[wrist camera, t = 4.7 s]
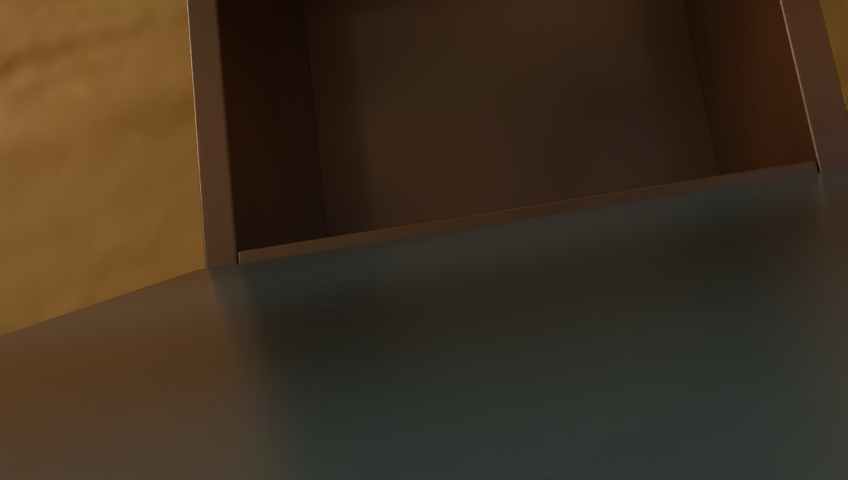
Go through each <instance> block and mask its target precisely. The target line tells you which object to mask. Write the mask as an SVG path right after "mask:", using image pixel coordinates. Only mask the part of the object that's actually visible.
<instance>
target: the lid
mask: <svg viewBox="0 0 848 480" xmlns="http://www.w3.org/2000/svg"><path fill="white" fill-rule="evenodd" d="M0 480H848V168H846V169H840V170H833V171H827V172H821V173H814V174H808V175H801V176H795V177H789V178H782V179H776V180H770V181H763V182H757V183H750V184H744V185H738V186H731V187H725V188H719V189H712V190H706V191H699V192H693V193H687V194H680V195H674V196H668V197H661V198H655V199H648V200H642V201H636V202H629V203H623V204H617V205H610V206H604V207H597V208H591V209H585V210H578V211H572V212H566V213H559V214H553V215H546V216H540V217H534V218H527V219H521V220H514V221H508V222H502V223H495V224H489V225H483V226H476V227H470V228H463V229H457V230H451V231H444V232H438V233H432V234H425V235H419V236H412V237H406V238H400V239H393V240H387V241H381V242H374V243H368V244H361V245H355V246H349V247H342V248H336V249H330V250H323V251H317V252H310V253H304V254H298V255H291V256H285V257H279V258H272V259H266V260H259V261H253V262H247V263H240V264H234V265H227V266H221V267H215V268H208V269H202V270H196V271H192V272H189V273H187V274H184V275H181V276H178V277H175V278H172V279H169V280H166V281H163V282H160V283H157V284H154V285H151V286H148V287H145V288H142V289H139V290H136V291H133V292H130V293H127V294H124V295H121V296H118V297H115V298H112V299H109V300H106V301H103V302H100V303H97V304H94V305H91V306H88V307H85V308H82V309H79V310H76V311H73V312H70V313H67V314H65V315H62V316H59V317H56V318H53V319H50V320H47V321H44V322H41V323H38V324H35V325H32V326H29V327H26V328H23V329H20V330H17V331H14V332H11V333H8V334H5V335H2V336H0Z"/></svg>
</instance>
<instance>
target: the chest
mask: <svg viewBox="0 0 848 480" xmlns="http://www.w3.org/2000/svg"><path fill="white" fill-rule="evenodd" d="M187 14H188V28H189V42H190V56H191V71H192V85H193V99H194V113H195V127H196V141H197V156H198V170H199V184H200V198H201V212H202V226H203V241H204V255H205V269H208V268H215V267H221V266H227V265H234V264H240V263H247V262H253V261H259V260H266V259H272V258H279V257H285V256H291V255H298V254H304V253H310V252H317V251H323V250H330V249H336V248H342V247H349V246H355V245H361V244H368V243H374V242H381V241H387V240H393V239H400V238H406V237H412V236H419V235H425V234H432V233H438V232H444V231H451V230H457V229H463V228H470V227H476V226H483V225H489V224H495V223H502V222H508V221H514V220H521V219H527V218H534V217H540V216H546V215H553V214H559V213H566V212H572V211H578V210H585V209H591V208H597V207H604V206H610V205H617V204H623V203H629V202H636V201H642V200H648V199H655V198H661V197H668V196H674V195H680V194H687V193H693V192H699V191H706V190H712V189H719V188H725V187H731V186H738V185H744V184H750V183H757V182H763V181H770V180H776V179H782V178H789V177H795V176H801V175H808V174H814V173H821V172H827V171H833V170H840V169H846V168H848V116H847V111H846V107H845V103H844V99H843V95H842V91H841V87H840V83H839V79H838V75H837V71H836V67H835V63H834V59H833V55H832V50H831V46H830V42H829V38H828V34H827V30H826V26H825V22H824V18H823V14H822V10H821V6H820V2H819V0H187Z"/></svg>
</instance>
